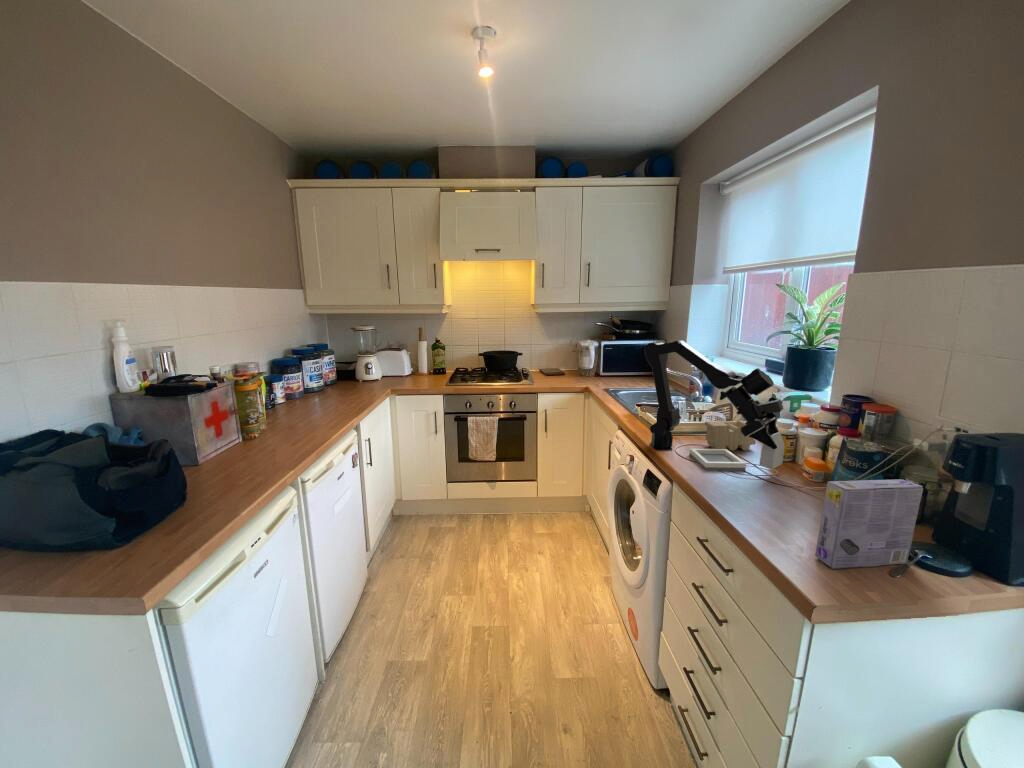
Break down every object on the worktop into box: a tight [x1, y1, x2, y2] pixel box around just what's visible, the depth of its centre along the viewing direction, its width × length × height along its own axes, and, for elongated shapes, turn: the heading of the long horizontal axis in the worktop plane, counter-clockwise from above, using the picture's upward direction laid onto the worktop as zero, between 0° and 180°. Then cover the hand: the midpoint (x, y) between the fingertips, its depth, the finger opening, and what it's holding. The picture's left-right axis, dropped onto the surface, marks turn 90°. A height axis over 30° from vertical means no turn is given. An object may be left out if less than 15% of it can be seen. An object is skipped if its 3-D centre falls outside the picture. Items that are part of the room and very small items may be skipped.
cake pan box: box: [814, 478, 924, 570], centre depth 85 cm, size 19×5×18 cm, turn 97°
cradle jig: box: [688, 448, 747, 472], centre depth 138 cm, size 13×13×2 cm
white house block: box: [759, 431, 786, 470], centre depth 126 cm, size 4×7×10 cm, turn 125°
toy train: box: [704, 419, 757, 451], centre depth 151 cm, size 6×17×10 cm, turn 95°
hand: (779, 445), depth 125 cm, fingers closed on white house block, 7 cm apart
